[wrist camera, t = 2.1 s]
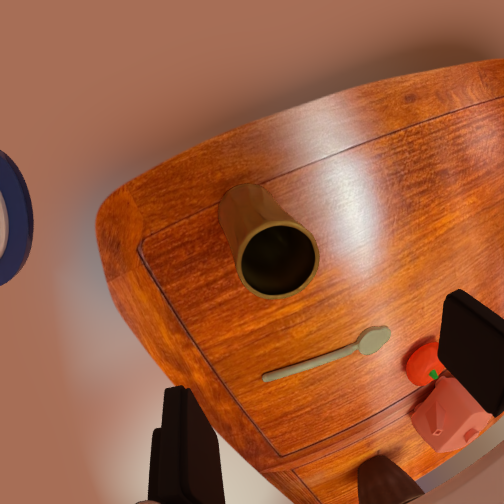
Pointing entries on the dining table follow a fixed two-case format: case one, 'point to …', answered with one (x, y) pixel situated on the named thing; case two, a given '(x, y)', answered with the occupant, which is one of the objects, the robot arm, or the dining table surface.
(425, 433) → the teapot
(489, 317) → the robot arm
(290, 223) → the vase
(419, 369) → the pumpkin
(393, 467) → the flower pot
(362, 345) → the spoon
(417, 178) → the dining table surface
